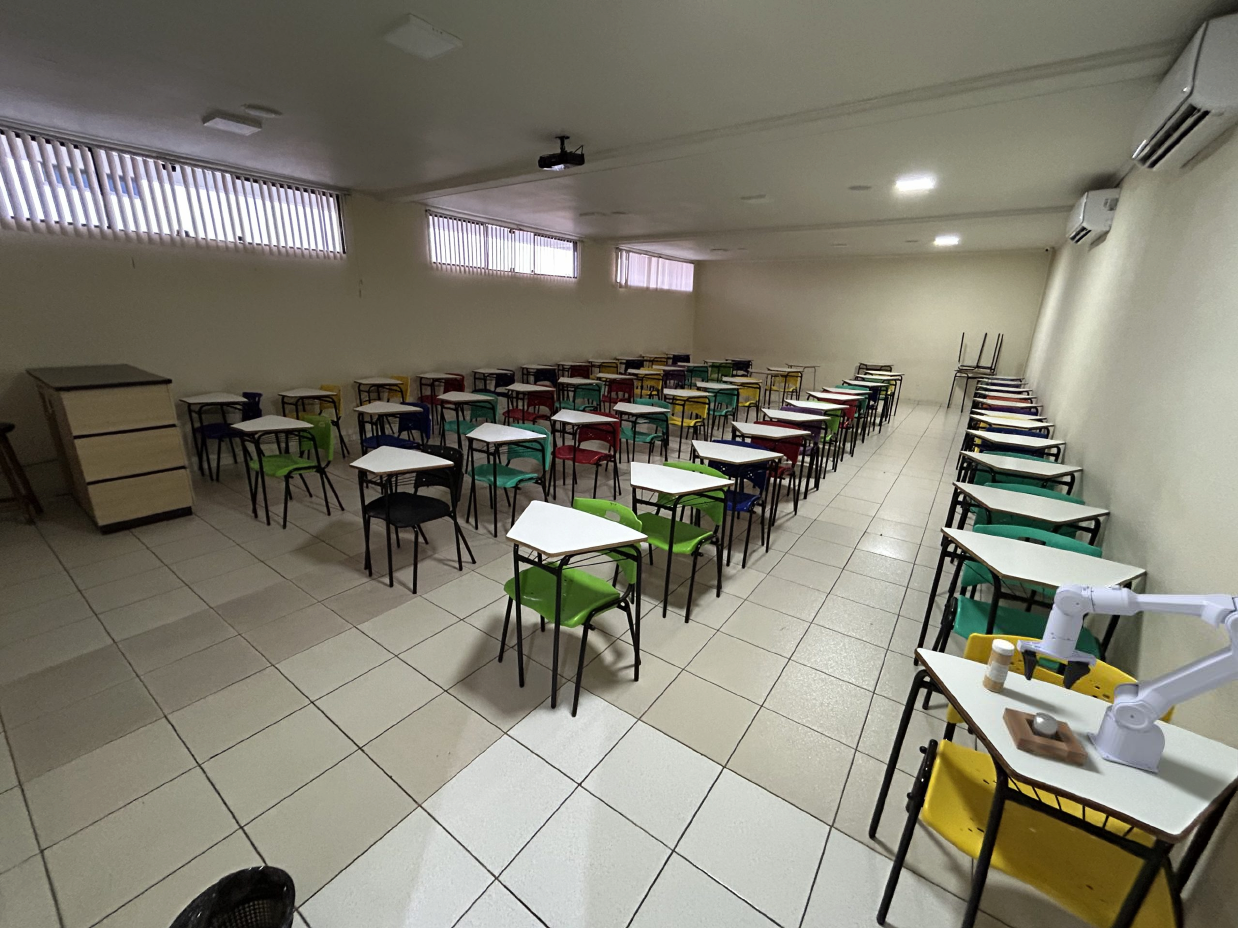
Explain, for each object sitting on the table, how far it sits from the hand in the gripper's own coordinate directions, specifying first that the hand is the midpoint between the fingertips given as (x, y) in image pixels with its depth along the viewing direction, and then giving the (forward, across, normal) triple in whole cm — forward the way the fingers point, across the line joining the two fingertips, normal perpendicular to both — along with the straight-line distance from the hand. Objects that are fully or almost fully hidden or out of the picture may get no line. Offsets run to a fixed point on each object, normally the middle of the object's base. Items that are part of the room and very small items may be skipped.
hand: (1046, 682), depth 120 cm
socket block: (+10, +2, +9) cm, 14 cm away
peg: (+10, +2, +9) cm, 13 cm away
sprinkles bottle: (+10, +7, -8) cm, 15 cm away
